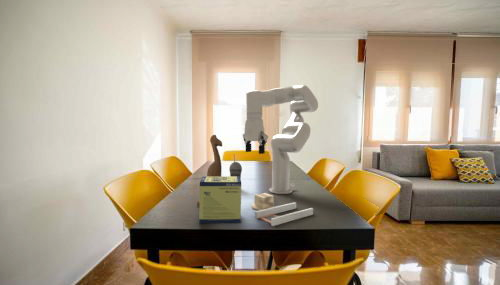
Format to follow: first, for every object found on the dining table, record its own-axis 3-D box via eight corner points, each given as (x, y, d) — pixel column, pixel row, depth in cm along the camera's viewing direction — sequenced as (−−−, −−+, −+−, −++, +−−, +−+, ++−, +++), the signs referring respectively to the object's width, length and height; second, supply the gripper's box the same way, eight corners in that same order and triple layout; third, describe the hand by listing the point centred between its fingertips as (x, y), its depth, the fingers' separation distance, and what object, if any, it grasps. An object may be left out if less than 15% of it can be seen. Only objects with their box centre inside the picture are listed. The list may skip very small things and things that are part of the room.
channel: (294, 207, 114) (294, 202, 114) (313, 214, 106) (313, 208, 106) (255, 217, 101) (255, 211, 101) (272, 226, 93) (273, 219, 92)
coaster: (264, 202, 122) (264, 201, 121) (278, 207, 114) (278, 206, 113) (246, 206, 116) (246, 204, 116) (260, 212, 108) (261, 210, 108)
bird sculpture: (221, 209, 111) (224, 135, 109) (196, 206, 113) (198, 134, 112) (229, 202, 122) (231, 135, 120) (205, 200, 124) (208, 133, 123)
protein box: (241, 223, 95) (241, 181, 94) (198, 223, 94) (198, 181, 93) (239, 213, 106) (240, 176, 105) (201, 214, 104) (201, 176, 103)
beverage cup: (237, 191, 142) (237, 155, 140) (226, 189, 145) (226, 154, 144) (244, 188, 148) (244, 154, 146) (233, 187, 152) (234, 153, 150)
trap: (272, 214, 105) (272, 213, 105) (286, 220, 99) (286, 219, 98) (259, 218, 100) (259, 217, 100) (272, 224, 94) (272, 223, 94)
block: (264, 202, 119) (265, 192, 119) (273, 206, 114) (273, 195, 114) (254, 204, 116) (254, 194, 115) (262, 208, 111) (262, 197, 110)
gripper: (237, 117, 127) (237, 151, 129) (260, 116, 114) (261, 155, 115) (249, 117, 132) (249, 150, 133) (273, 116, 119) (273, 153, 120)
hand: (254, 152), depth 124 cm, fingers open, 9 cm apart
